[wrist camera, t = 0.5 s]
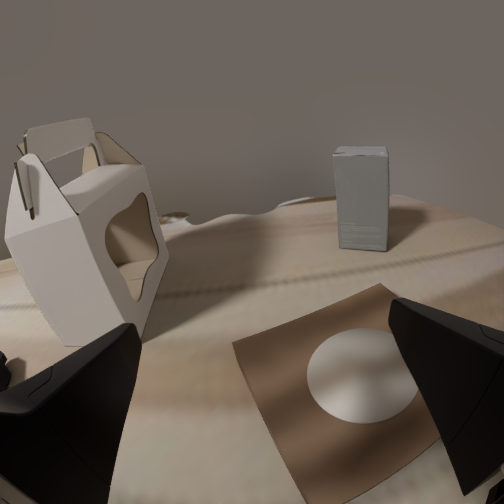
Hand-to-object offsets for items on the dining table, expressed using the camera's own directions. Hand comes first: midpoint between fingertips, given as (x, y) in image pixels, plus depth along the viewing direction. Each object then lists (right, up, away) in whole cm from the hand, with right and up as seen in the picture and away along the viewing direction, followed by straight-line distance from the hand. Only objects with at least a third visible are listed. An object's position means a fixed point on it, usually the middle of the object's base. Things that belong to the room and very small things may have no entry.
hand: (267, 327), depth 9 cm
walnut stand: (+9, -10, +13) cm, 19 cm away
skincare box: (+18, +4, +35) cm, 40 cm away
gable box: (-21, -5, +31) cm, 38 cm away
